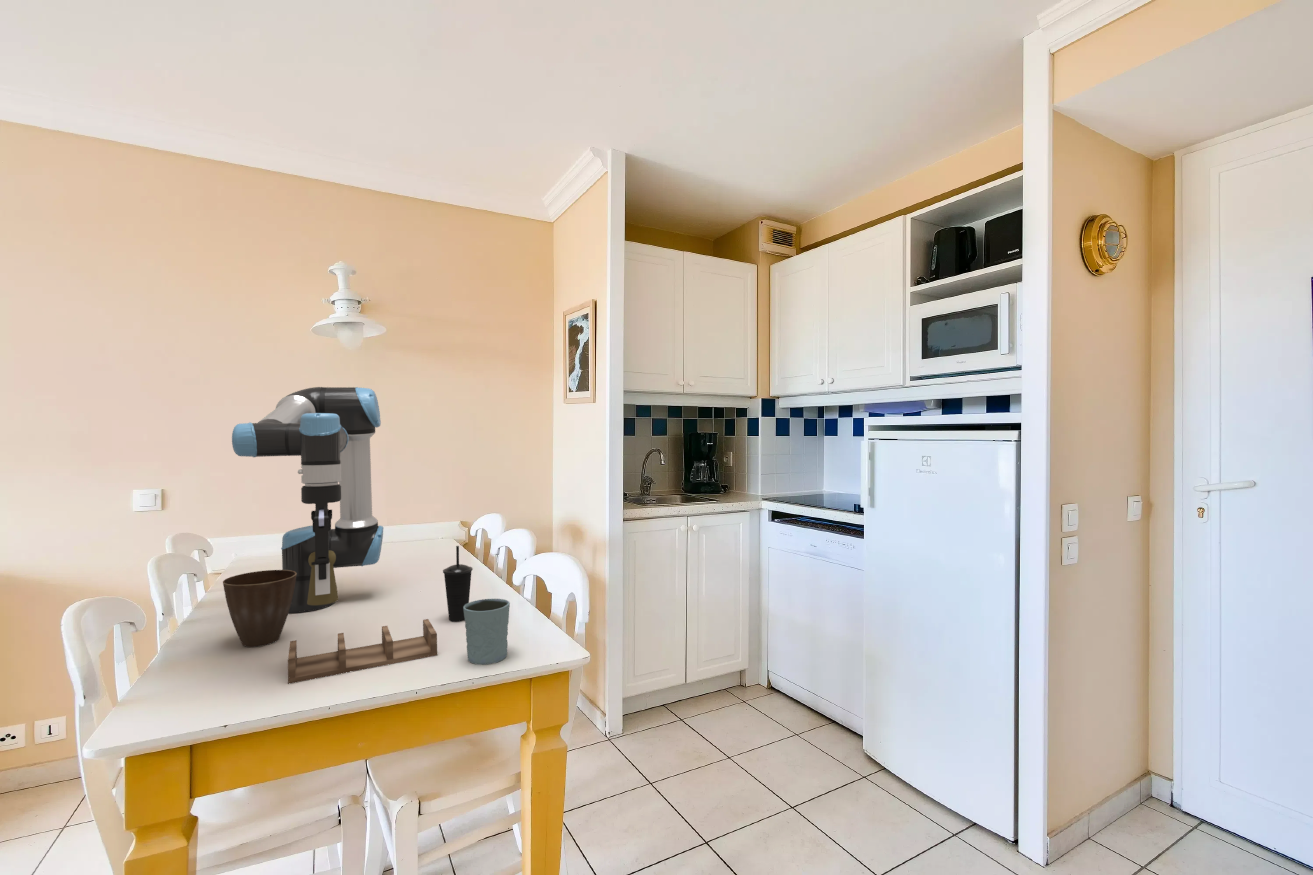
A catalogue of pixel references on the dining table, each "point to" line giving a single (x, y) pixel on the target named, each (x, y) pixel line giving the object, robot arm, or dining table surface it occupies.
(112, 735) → the dining table surface
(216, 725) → the dining table surface
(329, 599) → the olive peg figure
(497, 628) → the grey-green tumbler
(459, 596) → the drinking cup
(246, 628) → the plant pot
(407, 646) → the spice rack
